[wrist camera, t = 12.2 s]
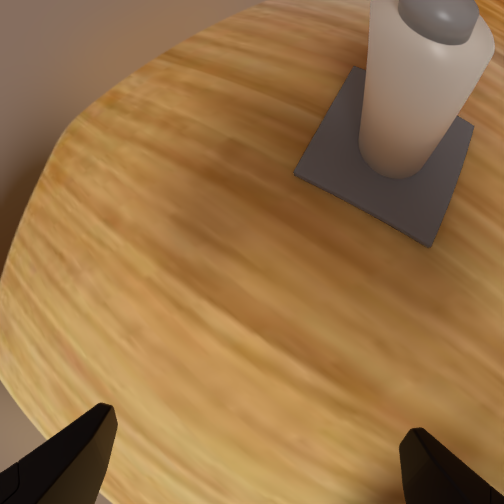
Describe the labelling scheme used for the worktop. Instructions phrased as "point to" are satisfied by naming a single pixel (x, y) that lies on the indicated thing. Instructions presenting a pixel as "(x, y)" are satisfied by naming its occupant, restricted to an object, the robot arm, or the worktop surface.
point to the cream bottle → (418, 78)
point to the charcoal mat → (373, 184)
